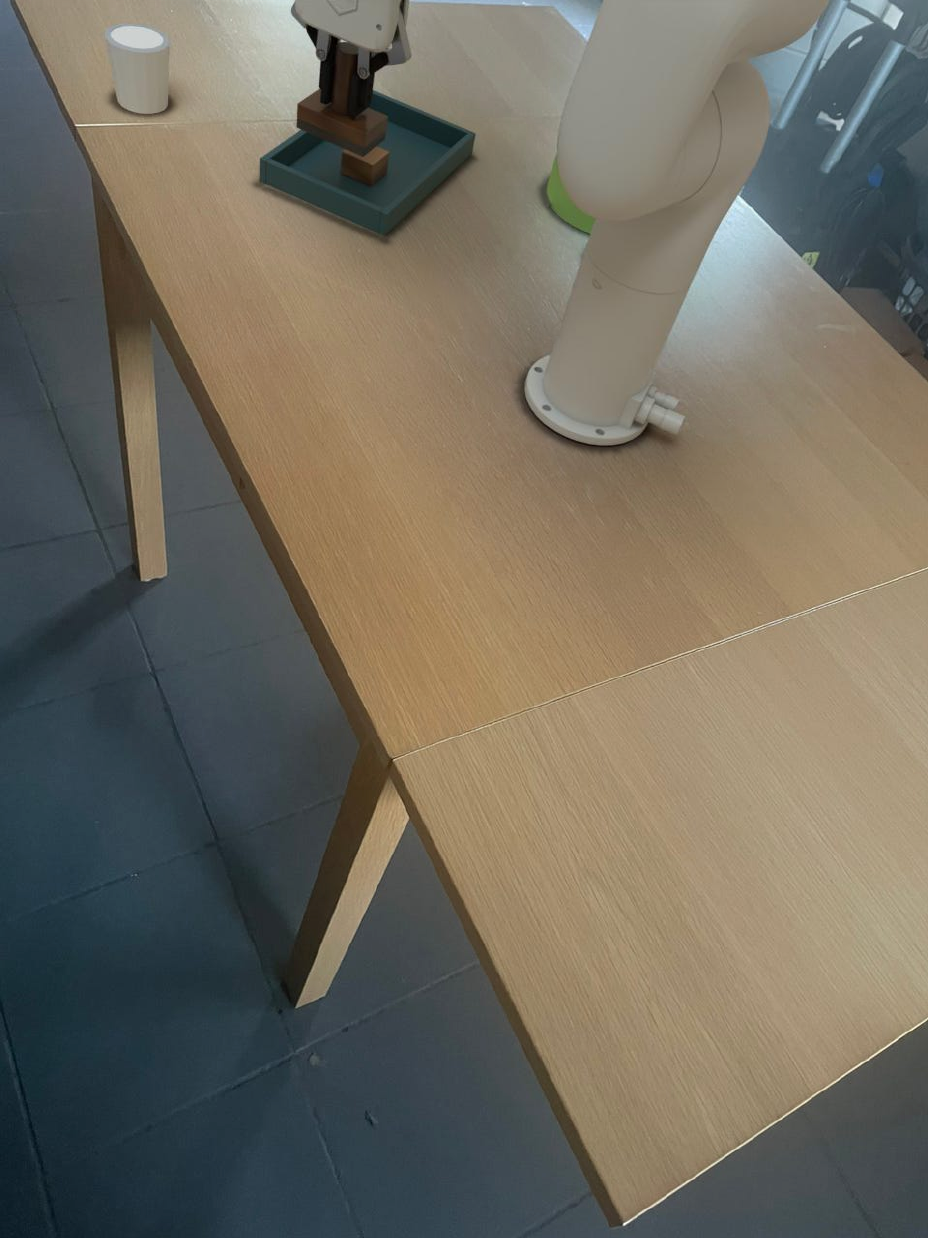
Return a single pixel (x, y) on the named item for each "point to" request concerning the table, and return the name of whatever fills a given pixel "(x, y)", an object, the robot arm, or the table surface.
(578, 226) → the food container
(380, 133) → the stamp
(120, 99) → the white cup
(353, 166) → the wooden block
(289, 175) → the tray
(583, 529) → the table surface
